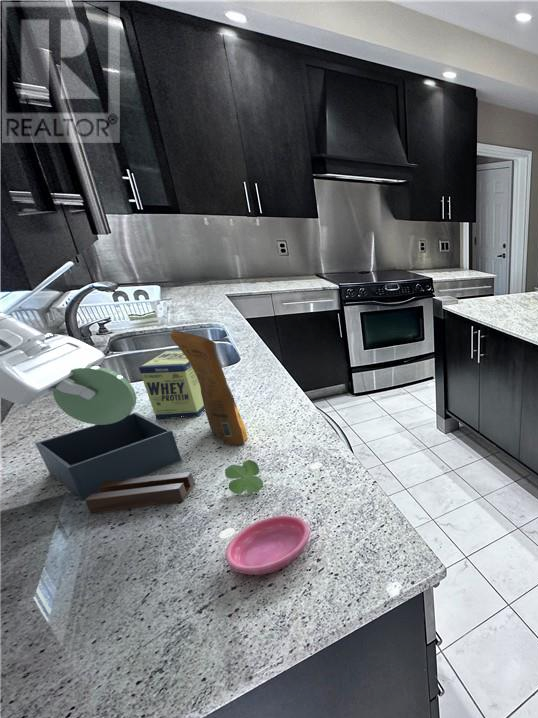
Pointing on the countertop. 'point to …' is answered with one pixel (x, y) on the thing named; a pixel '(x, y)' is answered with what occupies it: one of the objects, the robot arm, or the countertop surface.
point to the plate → (98, 396)
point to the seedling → (244, 477)
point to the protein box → (172, 385)
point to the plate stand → (141, 492)
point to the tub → (108, 453)
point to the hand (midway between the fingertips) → (98, 393)
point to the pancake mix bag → (213, 387)
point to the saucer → (267, 545)
